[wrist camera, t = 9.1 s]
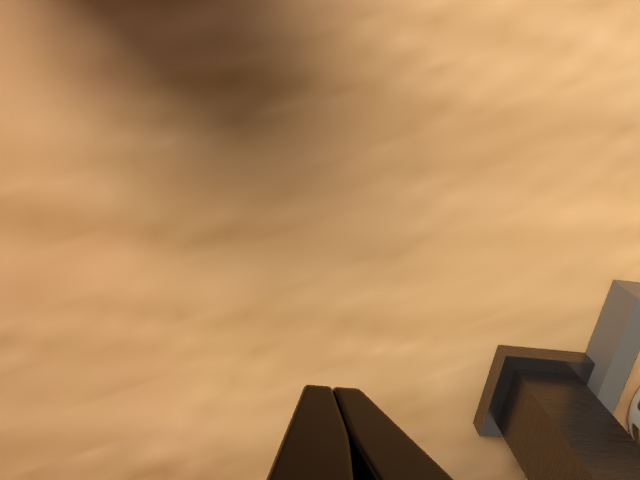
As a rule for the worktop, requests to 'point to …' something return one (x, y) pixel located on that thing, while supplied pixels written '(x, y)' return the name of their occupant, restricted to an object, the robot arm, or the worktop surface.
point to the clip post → (554, 417)
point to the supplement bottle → (635, 417)
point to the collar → (615, 342)
